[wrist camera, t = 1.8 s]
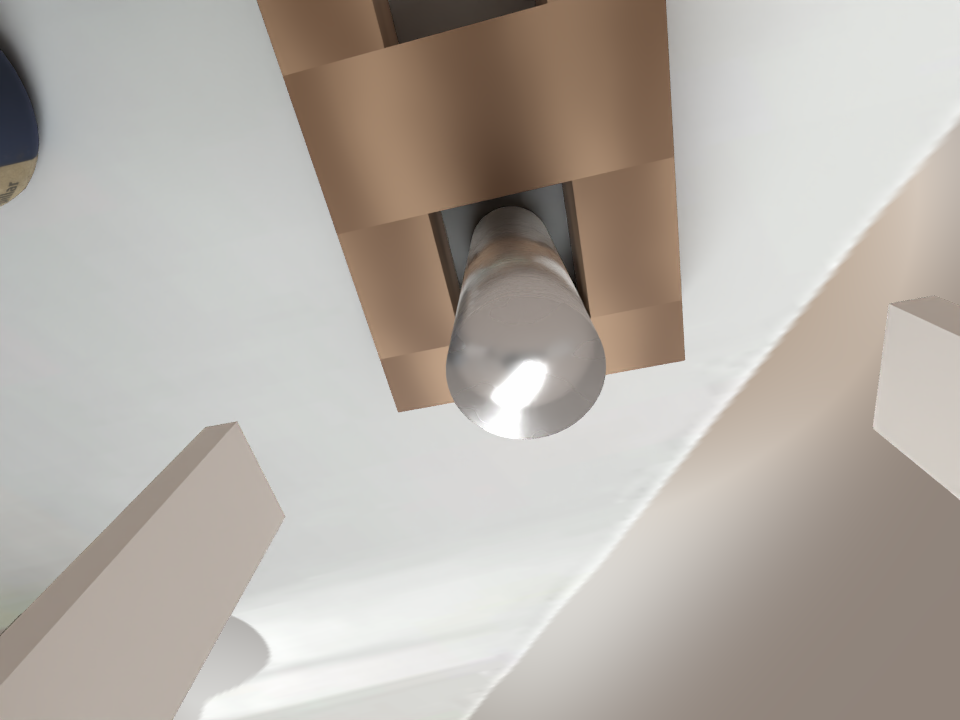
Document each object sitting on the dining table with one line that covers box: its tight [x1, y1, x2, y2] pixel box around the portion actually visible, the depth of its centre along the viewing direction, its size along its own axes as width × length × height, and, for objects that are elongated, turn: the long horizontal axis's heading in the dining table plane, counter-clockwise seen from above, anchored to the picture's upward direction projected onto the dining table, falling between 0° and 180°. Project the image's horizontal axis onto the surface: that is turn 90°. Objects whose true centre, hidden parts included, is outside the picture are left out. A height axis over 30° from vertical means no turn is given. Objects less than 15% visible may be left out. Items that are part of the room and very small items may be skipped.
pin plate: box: [257, 0, 685, 412], centre depth 21 cm, size 14×24×4 cm, turn 13°
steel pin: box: [446, 206, 606, 439], centre depth 19 cm, size 4×4×14 cm
